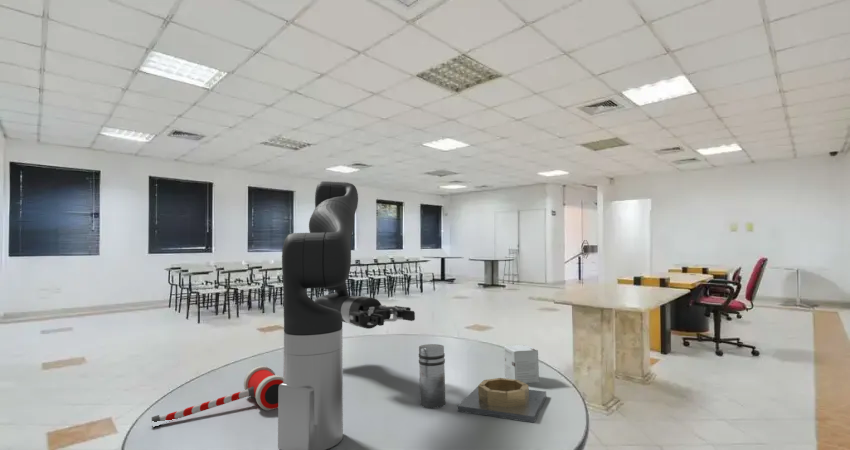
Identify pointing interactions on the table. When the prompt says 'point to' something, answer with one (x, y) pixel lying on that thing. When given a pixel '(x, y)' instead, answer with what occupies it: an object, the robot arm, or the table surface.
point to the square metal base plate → (504, 400)
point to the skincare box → (521, 363)
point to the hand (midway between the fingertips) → (398, 318)
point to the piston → (432, 375)
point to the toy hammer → (241, 394)
